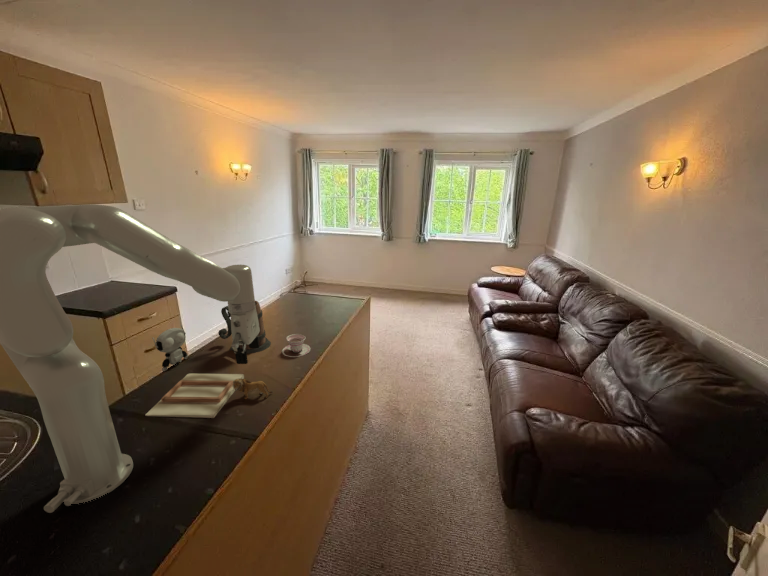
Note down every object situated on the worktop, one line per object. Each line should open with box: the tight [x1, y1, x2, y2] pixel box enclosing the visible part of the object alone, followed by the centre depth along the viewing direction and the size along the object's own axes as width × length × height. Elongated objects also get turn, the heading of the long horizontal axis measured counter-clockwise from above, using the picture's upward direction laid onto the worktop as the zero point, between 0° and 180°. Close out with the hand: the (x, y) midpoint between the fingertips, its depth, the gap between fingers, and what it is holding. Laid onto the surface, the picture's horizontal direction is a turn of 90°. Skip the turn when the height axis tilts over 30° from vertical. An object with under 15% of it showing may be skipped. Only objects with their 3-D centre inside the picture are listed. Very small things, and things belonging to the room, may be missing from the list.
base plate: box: [145, 373, 245, 419], centre depth 103 cm, size 22×20×3 cm
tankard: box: [218, 300, 272, 355], centre depth 135 cm, size 24×17×20 cm
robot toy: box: [152, 324, 189, 372], centre depth 119 cm, size 12×4×15 cm, turn 166°
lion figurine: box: [233, 378, 273, 400], centre depth 103 cm, size 12×4×7 cm, turn 107°
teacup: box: [281, 333, 311, 358], centre depth 134 cm, size 12×12×6 cm
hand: (248, 355), depth 100 cm, fingers open, 9 cm apart
